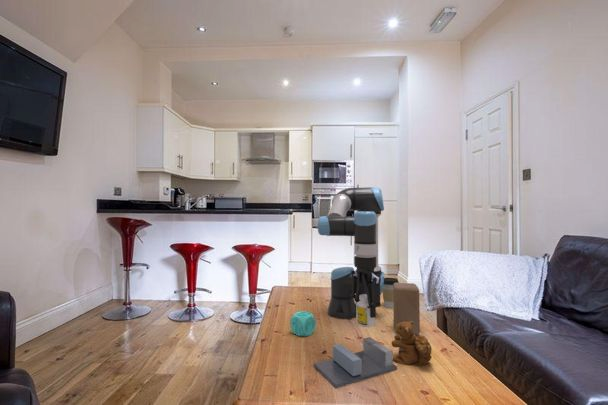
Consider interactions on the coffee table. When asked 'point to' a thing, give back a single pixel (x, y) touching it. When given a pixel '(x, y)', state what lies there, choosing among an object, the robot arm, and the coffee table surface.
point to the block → (406, 305)
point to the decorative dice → (302, 323)
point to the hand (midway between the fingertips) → (365, 323)
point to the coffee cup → (388, 291)
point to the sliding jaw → (347, 359)
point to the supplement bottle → (362, 310)
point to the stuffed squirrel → (411, 345)
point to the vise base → (372, 364)
